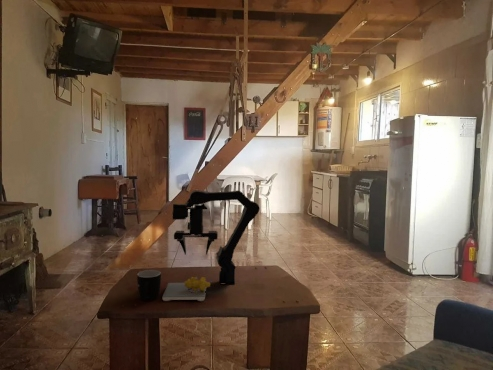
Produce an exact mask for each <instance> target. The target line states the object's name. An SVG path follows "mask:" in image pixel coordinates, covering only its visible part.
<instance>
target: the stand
mask: <svg viewBox="0 0 493 370" xmlns="http://www.w3.org/2000/svg"><path fill="white" fill-rule="evenodd" d="M205 291H206V292H207V288H205ZM205 291H204V292H201V291H198V292H197V293H191V292H189V290H188V288H187V286H185V282H168V283H167V286H166V289H165V290H164V292H163V295H162V300H163V302H170V301H173V300H174V301H175V300H177V301H181V300H182V301H183V300H184V301H185V300H187V301H188V300H189V301H191V300H192V301H193V300H195V301H196V300H197V301H198V302H204V300H205V298H206V293H205Z"/></svg>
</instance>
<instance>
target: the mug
mask: <svg viewBox="0 0 493 370" xmlns="http://www.w3.org/2000/svg"><path fill="white" fill-rule="evenodd" d="M136 280H137V293H138V296H139V299H140V300H141V301H144V302H150V301H151V302H152V301H155V300H157V299H158V298H159V296H160V292H161V283H162V282H161V281H162V272H161V271H160V270H156V269H145V270H141V271H139V272H138V273H137V275H136Z"/></svg>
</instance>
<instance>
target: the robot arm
mask: <svg viewBox="0 0 493 370" xmlns="http://www.w3.org/2000/svg"><path fill="white" fill-rule="evenodd" d="M217 201H218V202H219V201H238V202H239V203H240V204H241V206H243V209H242V212H241V216H240V218H239V220H238V222H237V224H236V226H235V228H234V230H233V231H232V233H231V235H230V237H229V239H227V240H228V241H227V242H226V244H225V245H224V246H223V247H222V245H220V246H219V248H218V251H217V252H216V253H215V254H216V257H215V258H216V259H215V260H216V263H217V264H218V266H219V267H220V271H219V273H218V275H219V277H218V278H219V279H218V280H219V281H218V282H219V283H226V284H225V285H236V280H235V275H236V274H235V271H236V268H237V267H236V265H235V264H234V262H233V256H234V253H235V250H236V247H237V246H238V244H239V242H240V240H241V239H242V237H243V234H244V233H245V231H246V229H247V227H248V225H249V224H250V222H251V221H252V220H254V219H255V217H256V216H257V215H258V213H259V212H260V205H259V204H258V203H257V202H255V201H253V200H251V199H249V198H248V197H247V196H246V195H245V194H244V193H243V192H242V191H240V190H234V191H230V190H228V191H204V190H198V189H197V190H196V189H195V190H192V191H191V192H190V194H189V198H188V200H187V201H186V202H185V204H184V203H181V204H179V203H173V205H172V220H173V221H174V220H176V221H179V220H183V221H184V220H186V219H187V218H189V222H187V230H188V231H189V232H185V230H176V231H175V232H174V234H173V240H176V242H179V244H180V246H181V247H182V250H183V253H184V255H187V247H186V238H207V241H206V242H207V243H206V248H205V249H206V250H205V255H208V253H209V249H210V247H211V244H212V242H215V240H218V234H219V233H218V231H217V230H208V232H204V225H203V224H204V219H203V217H204V210H208V207H207V206H206V205H205V204H206V203H209V202H217Z"/></svg>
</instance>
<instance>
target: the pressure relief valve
mask: <svg viewBox="0 0 493 370" xmlns="http://www.w3.org/2000/svg"><path fill="white" fill-rule="evenodd" d="M184 283H185V286H187V288H188V289H190V288H192V289H193V291H197V289H200V291H201V292H204V291H205V288H206V289H207V288H210V287H211V282H208V281H207V280H206V277H204V276H203V277H202V276H201V277H200V279H198V276H191V277H190V278H188V279H187V280H185V281H184Z"/></svg>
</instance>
